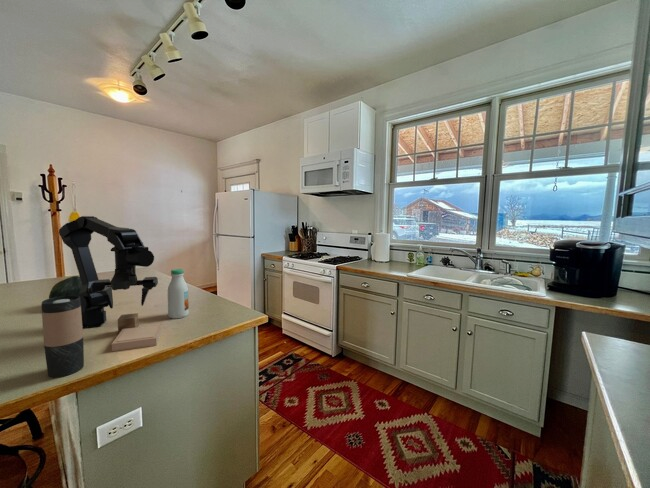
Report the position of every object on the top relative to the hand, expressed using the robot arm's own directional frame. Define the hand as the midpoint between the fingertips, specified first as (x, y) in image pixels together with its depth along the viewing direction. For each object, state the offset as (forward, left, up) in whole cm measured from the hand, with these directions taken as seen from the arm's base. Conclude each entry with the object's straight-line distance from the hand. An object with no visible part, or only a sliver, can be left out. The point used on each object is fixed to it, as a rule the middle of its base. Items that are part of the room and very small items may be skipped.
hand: (127, 306), depth 98 cm
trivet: (+5, -9, -9) cm, 14 cm away
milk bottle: (+15, +12, -10) cm, 21 cm away
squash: (-30, +40, -10) cm, 51 cm away
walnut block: (0, 0, -10) cm, 10 cm away
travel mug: (-9, -23, -10) cm, 27 cm away
